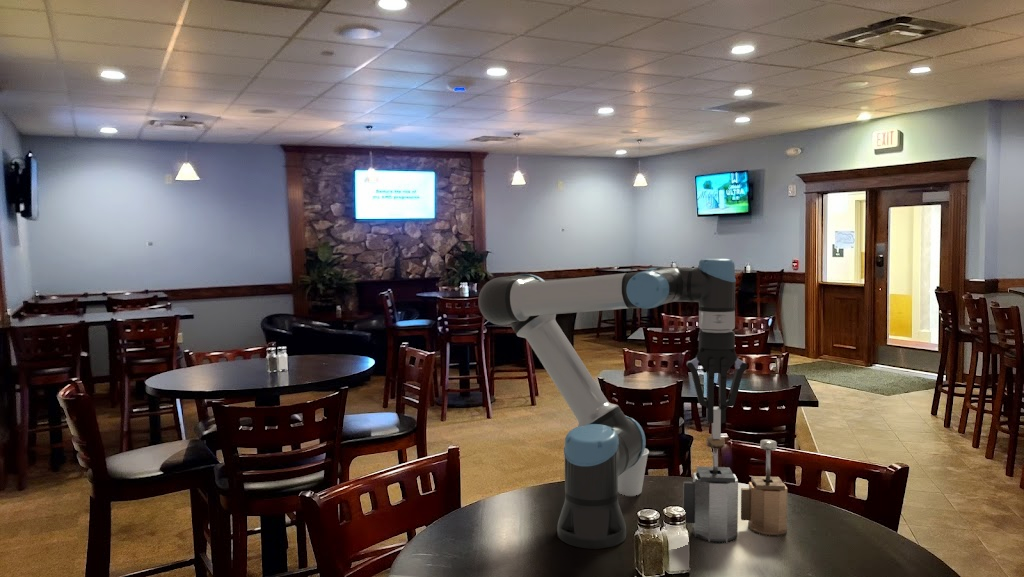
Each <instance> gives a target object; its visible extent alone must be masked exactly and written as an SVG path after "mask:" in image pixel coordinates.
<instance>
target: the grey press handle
mask: <svg viewBox="0 0 1024 577" xmlns="http://www.w3.org/2000/svg"><path fill="white" fill-rule="evenodd" d="M759 445H760V449H762V450H765V457H766V458H765V477H766V481H767V482H770V477H771V451H776V450H777V445H778V442H777V441H776V440H772V439H761V440H760V444H759ZM754 487H755V486H754ZM767 491H779V490H767Z"/></svg>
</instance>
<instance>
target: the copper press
mask: <svg viewBox="0 0 1024 577" xmlns="http://www.w3.org/2000/svg"><path fill="white" fill-rule="evenodd" d="M750 477H751V481H749V482H748V488H743V487H742V488H740V520H741V521H748V523H747V528H748V530H749V531H751V533H754V534H756V535H759V536H763V537H774V538H775V537H781V536H785V535H786V534H787V533H788V487H787V486H786V484H785V483H783V481H782V479H781V478H780V477H779V476H770V482H767V481H766V476H757V475H756V476H755V475H751V476H750ZM754 486H755V487H754ZM767 490H779V491H767Z"/></svg>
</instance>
